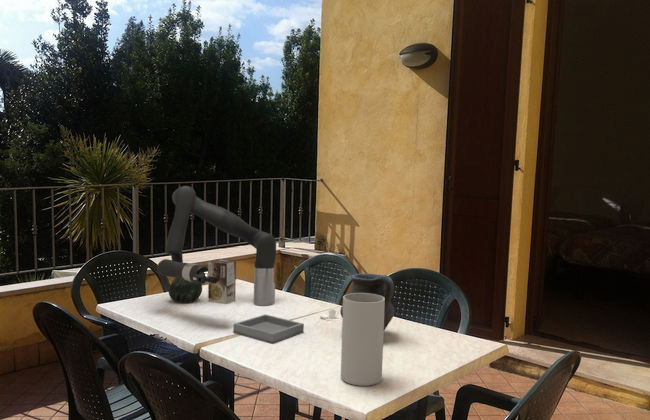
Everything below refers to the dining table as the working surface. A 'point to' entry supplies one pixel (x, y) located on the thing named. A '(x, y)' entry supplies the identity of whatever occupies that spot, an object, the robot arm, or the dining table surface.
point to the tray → (268, 328)
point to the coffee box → (222, 281)
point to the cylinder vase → (362, 338)
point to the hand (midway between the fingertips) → (223, 279)
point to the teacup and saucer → (330, 315)
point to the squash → (184, 290)
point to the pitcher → (375, 291)
